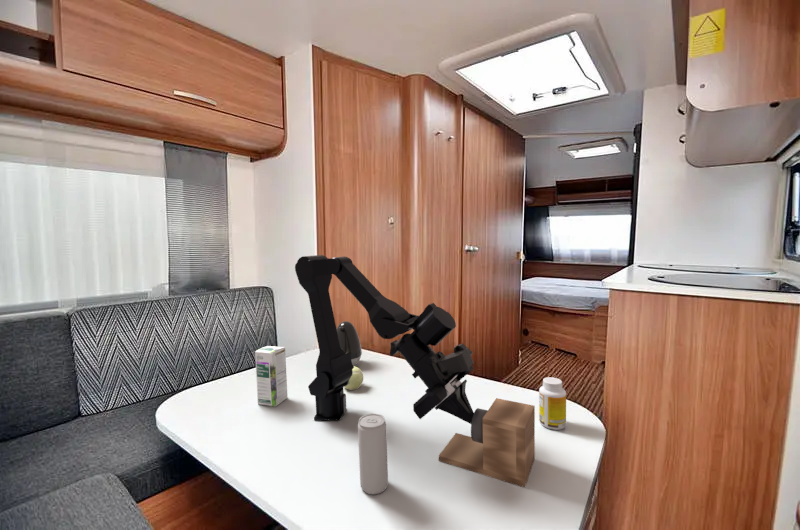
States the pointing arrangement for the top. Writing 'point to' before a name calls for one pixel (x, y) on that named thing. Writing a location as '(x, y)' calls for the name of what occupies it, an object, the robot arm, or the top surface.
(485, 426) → the mount
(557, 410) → the supplement bottle
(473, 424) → the knob
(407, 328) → the robot arm
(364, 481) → the beverage can
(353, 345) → the dark grey ovoid
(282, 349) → the syrup box
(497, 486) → the top surface
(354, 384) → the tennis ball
